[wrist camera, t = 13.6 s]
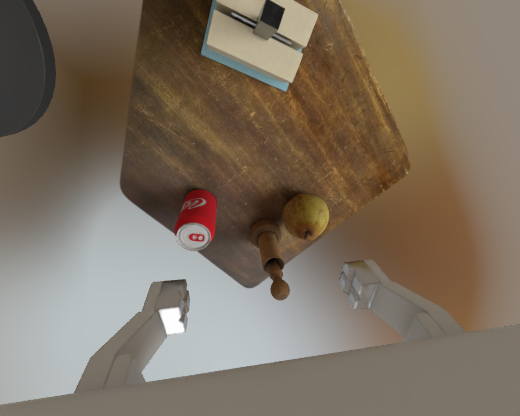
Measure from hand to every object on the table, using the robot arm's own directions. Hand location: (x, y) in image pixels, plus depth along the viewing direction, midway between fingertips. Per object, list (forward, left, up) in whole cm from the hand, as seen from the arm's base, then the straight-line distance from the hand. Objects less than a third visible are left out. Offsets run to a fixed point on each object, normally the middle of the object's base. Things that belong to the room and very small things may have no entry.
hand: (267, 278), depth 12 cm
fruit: (+17, -9, -34) cm, 39 cm away
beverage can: (-3, -14, -34) cm, 37 cm away
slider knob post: (-2, +15, -33) cm, 36 cm away
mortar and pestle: (+12, -17, -34) cm, 40 cm away
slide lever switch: (-2, +15, -33) cm, 37 cm away
